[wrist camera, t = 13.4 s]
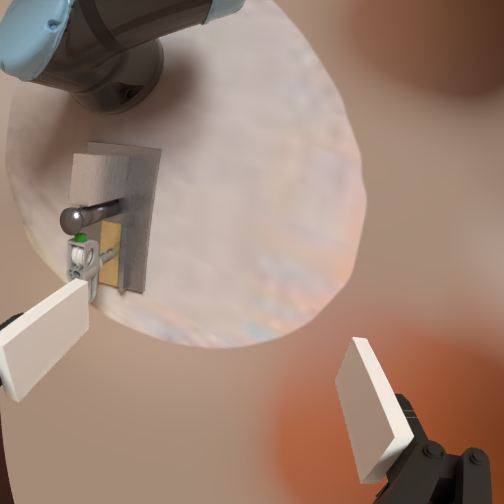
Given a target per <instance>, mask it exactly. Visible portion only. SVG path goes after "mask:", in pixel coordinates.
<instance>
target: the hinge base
mask: <svg viewBox="0 0 504 504" xmlns="http://www.w3.org/2000/svg"><path fill="white" fill-rule="evenodd" d="M161 151H162V150H161V149H153V148H145V147H136V146H127V145H117V144H107V143H95V142H88V147H87V153H86V154H85V153H74V157H73V165H72V173H71V182H70V193H69V203H71V204H76V205H81V207H80V208H75V207H70V208H66V209H65V210H63V212H62V213H61V216H60V225H61V228H62V230H63V231H64V232H65V233H66V234H68V235H75V234H77V233H84V234H86V235H87V238H86V239H90V240H94V241H97V242H98V244H99V252H98V255H99V254H101V253H103V252H105V251H106V250H107V253H108V252H109V251H112V252H113V253H114V257H113V259H111V260H110V261H108V262H107V263H105V264H104V265H103V267H102V270H101V271H100V272H98V274H97V281H98V282H101V283H105V284H108V285H112V286H116V287H118V291H119V292H124V291H125V290H126V289H129V290H133V291H137V292H141V293H143V292H144V291H145V279H146V267H147V256H148V245H149V236H150V227H151V219H152V211H153V203H154V196H155V189H156V182H157V176H158V169H159V163H160V157H161Z"/></svg>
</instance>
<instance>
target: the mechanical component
mask: <svg viewBox="0 0 504 504" xmlns="http://www.w3.org/2000/svg"><path fill="white" fill-rule="evenodd" d="M86 238H87V235H86V234H84V233H77V234H75V238H73V239H71V240H68V263H67V278H68V280H69V282H71V281H72V280H74V279H75V278H77V279H80V280H84V281H87V282H88V305H89V304H90V303H91V302H92V301H94V299H95V297H96V294H97V274H98V272H100V271H101V270H102V267H103V265H104V264H105V263H107V262H108V261H110V260H111V259H113V257H114V253H113V252H112V251H109V252H108V253H107V250H106V251H105V252H103V253H101V254H99V255H98V252H99V244H98V242H97V241H94V240H90V239H86ZM74 246H75V247H74ZM71 254H72V257H71Z"/></svg>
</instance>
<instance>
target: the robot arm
mask: <svg viewBox="0 0 504 504" xmlns="http://www.w3.org/2000/svg"><path fill="white" fill-rule="evenodd" d="M244 2H245V0H13V1H12V2H11V4H10V5H9V7H8V9H7V11H6V13H5V15H4V17H3V19H2V21H1V23H0V68H1V69H2V71H4V72H5V73H6V74H9V75H12V76H14V77H17V78H18V79H20V80H21V81H24V82H27V81H29V82H33V83H37V84H41V85H45V86H49V87H53V88H57V89H61V90H65V91H68V92H70V93H71V94H72V96H73V97H74V98H75V99H76V100H77V102H78V103H79V104H80V105H81V106H83V107H84V108H86V109H88V110H90V111H93V112H97V113H100V114H117V113H121V112H124V111H126V110H128V109H130V108H132V107H134V106H135V105H137V104H138V103H140V102H141V101H142V100H143V99H144V98H145V97H146V96H147V95H148V94H149V93H150V92H151V90H152V89H153V88H154V86H155V85H156V83H157V81H158V79H159V77H160V74H161V71H162V68H163V62H164V53H163V48H162V45H161V42H160V40H159V39H158V38H159V37H162V36H165V35H168V34H170V33H173V32H176V31H179V30H182V29H185V28H188V27H191V26H195V25H198V24H201V25H205V24H207V23H209V22H210V21H212V20H215V19H218V18H221V17H225V16H228V15H231V14H234V13H236V12H237V11H239V10H240V9H241V7H242V6H243V4H244ZM88 330H89V309H88V282H87V281H84V280H80V279H77V278H75V279H74V280H72V281H71V282H69V283H68V284H66V285H65V286H64V287H62V288H61V289H59V290H57V291H56V292H55V293H53V294H52V295H50V296H49V297H47V298H46V299H44V300H43V301H41V302H40V303H39V304H37V305H36V306H34V307H33V308H31V309H30V310H29V311H27V312H26V313H20V314H17V315H14V316H12V317H11V318H10V319H8V320H7V321H6V322H4V323H2V324H1V325H0V386H1V385H3V388H4V391H5V394H6V396H8V397H10V398H11V399H13V400H15V401H16V402H18V403H20V401H21V400H22V399H23V398H24V397H25V396H26V395H27V394H28V393H29V391H30V390H31V389H32V388H33V387H34V386H35V385H36V384H37V383H38V382H39V380H40V379H41V378H42V377H43V376H44V375H45V374H46V373H47V372H48V371H49V370H50V369H51V368H52V367H53V365H55V363H56V362H57V361H58V360H59V359H60V358H61V357H62V356H63V355H64V354H65V353H66V352H67V351H68V350H69V349H70V348H71V347H72V346H73V345H74V344H75V343H76V342H77V341H78V340H79V339H80V338H81V337H82V335H84V333H86V332H87V331H88ZM335 384H336V388H337V392H338V395H339V399H340V403H341V407H342V410H343V414H344V418H345V422H346V426H347V430H348V433H349V438H350V442H351V445H352V450H353V454H354V458H355V462H356V466H357V470H358V475H359V478H360V483H361V484H369V483H379V482H380V481H381V479H382V478H383V477H384V476H385V475H387V478H388V483H387V484H386V485H385V486H384V487H383V489H382V490H381V491H380V492H379V493H378V494H377V495H376V497H377V498H376V500H375V501H374V502H373V504H492V487H491V472H490V461H489V458H488V456H487V455H486V453H485V452H484V451H482V450H481V449H478V448H474V447H471V448H468V449H467V450H465V452H464V453H463V454H462V455H461V456H457V455H451V454H446V451H445V449H444V448H443V447H442V446H441V445H440V444H438V443H437V442H435V441H431V440H428V438H427V436H426V434H425V432H424V430H423V428H422V426H421V424H420V422H419V420H418V418H417V416H416V414H415V412H413V408H412V406H411V404H410V402H409V401H408V400H407V399H406V398H405V397H404V396H403V395H402V394H394V393H393V390H392V388H391V387H390V385H389V382H388V380H387V378H386V376H385V374H384V372H383V370H382V368H381V366H380V364H379V362H378V360H377V359H376V357H375V354H374V353H373V351H372V349H371V347H370V345H369V343H368V341H367V339H364V338H357V337H352V339H351V341H350V344H349V347H348V349H347V352H346V355H345V357H344V360H343V363H342V365H341V367H340V370H339V372H338V375H337V377H336V380H335ZM1 428H2V427H1V416H0V504H14V500H13V496H12V492H11V487H10V483H9V477H8V472H7V466H6V460H5V453H4V446H3V438H2V429H1Z"/></svg>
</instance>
